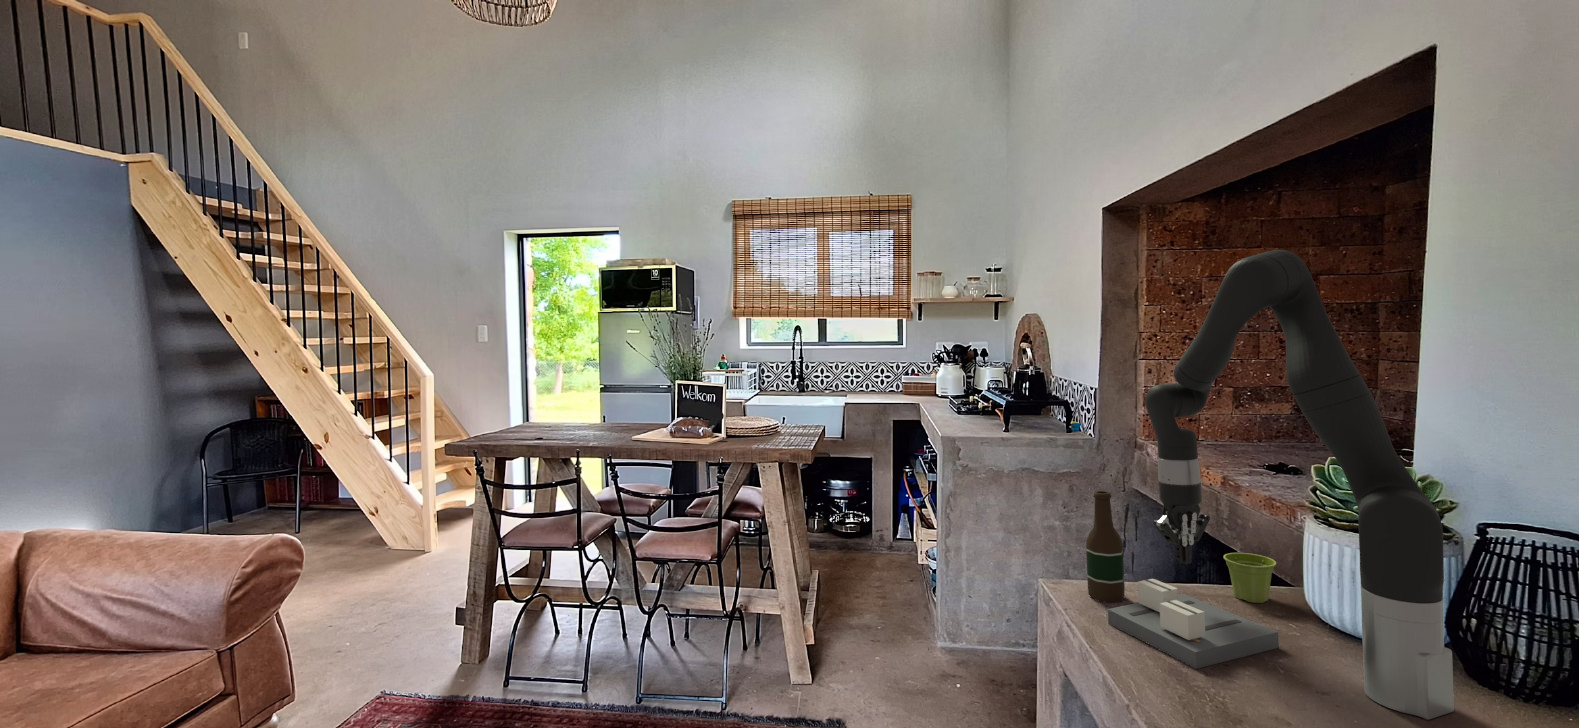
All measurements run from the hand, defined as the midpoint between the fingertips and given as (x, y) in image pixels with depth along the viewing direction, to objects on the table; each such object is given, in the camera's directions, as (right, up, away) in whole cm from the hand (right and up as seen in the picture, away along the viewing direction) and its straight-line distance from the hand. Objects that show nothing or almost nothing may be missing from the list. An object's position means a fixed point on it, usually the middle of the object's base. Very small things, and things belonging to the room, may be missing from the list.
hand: (1184, 562), depth 131 cm
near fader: (-8, -9, -13) cm, 18 cm away
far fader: (-6, -9, -2) cm, 11 cm away
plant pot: (+20, -11, +8) cm, 24 cm away
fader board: (-4, -12, -7) cm, 14 cm away
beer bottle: (-10, -12, +13) cm, 20 cm away
